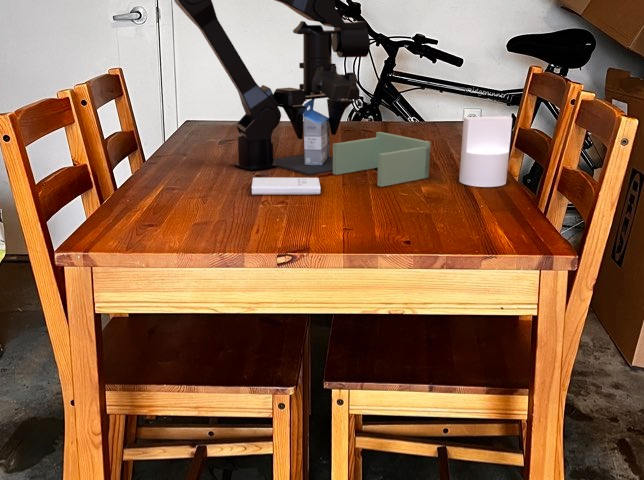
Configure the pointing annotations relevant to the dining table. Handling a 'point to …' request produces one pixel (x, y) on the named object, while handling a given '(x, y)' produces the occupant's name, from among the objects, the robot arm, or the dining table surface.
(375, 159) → the u-shaped bracket
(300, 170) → the mat
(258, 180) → the hard drive
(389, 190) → the dining table surface
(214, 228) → the dining table surface
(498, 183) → the cylinder with rectangular tab
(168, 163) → the dining table surface
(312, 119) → the label tape box
